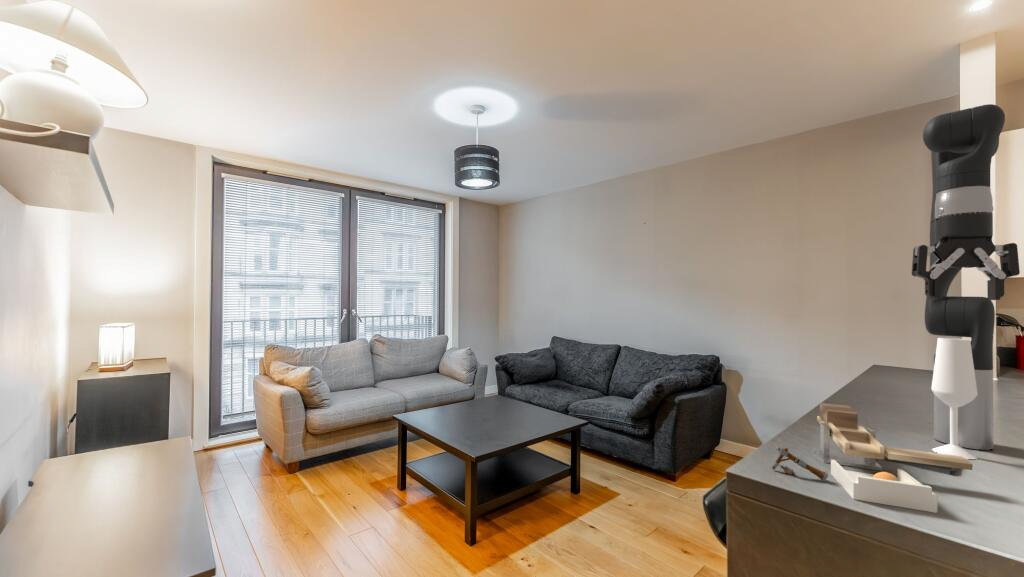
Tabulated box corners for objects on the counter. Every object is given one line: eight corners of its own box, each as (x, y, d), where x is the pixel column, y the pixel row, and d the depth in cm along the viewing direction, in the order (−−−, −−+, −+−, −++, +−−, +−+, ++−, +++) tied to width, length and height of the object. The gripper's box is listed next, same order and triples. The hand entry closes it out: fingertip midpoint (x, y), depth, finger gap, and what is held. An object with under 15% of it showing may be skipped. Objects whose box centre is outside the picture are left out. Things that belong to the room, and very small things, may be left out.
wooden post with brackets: (766, 462, 78) (778, 442, 77) (815, 491, 74) (828, 470, 73) (766, 465, 76) (778, 445, 75) (815, 495, 72) (829, 473, 71)
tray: (830, 473, 76) (830, 453, 76) (901, 484, 72) (901, 463, 72) (853, 499, 66) (853, 476, 66) (937, 513, 62) (937, 488, 62)
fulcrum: (814, 452, 86) (815, 420, 87) (869, 459, 83) (869, 426, 83) (823, 462, 81) (824, 427, 81) (882, 470, 77) (882, 434, 78)
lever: (817, 420, 91) (817, 402, 91) (920, 431, 84) (921, 412, 84) (844, 454, 75) (845, 432, 75) (974, 471, 69) (975, 447, 69)
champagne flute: (929, 445, 93) (929, 336, 94) (974, 453, 88) (973, 339, 89) (933, 453, 88) (933, 338, 88) (981, 462, 83) (980, 341, 84)
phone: (859, 440, 93) (958, 461, 81) (859, 446, 92) (958, 467, 81) (850, 448, 87) (954, 472, 76) (850, 453, 87) (954, 478, 76)
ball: (868, 466, 68) (877, 476, 65) (896, 470, 67) (906, 480, 64) (867, 487, 68) (877, 498, 65) (895, 491, 67) (905, 502, 64)
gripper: (1000, 216, 81) (1000, 300, 80) (905, 219, 86) (905, 299, 86) (1029, 207, 74) (1030, 300, 73) (924, 212, 79) (924, 298, 79)
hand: (963, 299), depth 79 cm, fingers open, 8 cm apart
